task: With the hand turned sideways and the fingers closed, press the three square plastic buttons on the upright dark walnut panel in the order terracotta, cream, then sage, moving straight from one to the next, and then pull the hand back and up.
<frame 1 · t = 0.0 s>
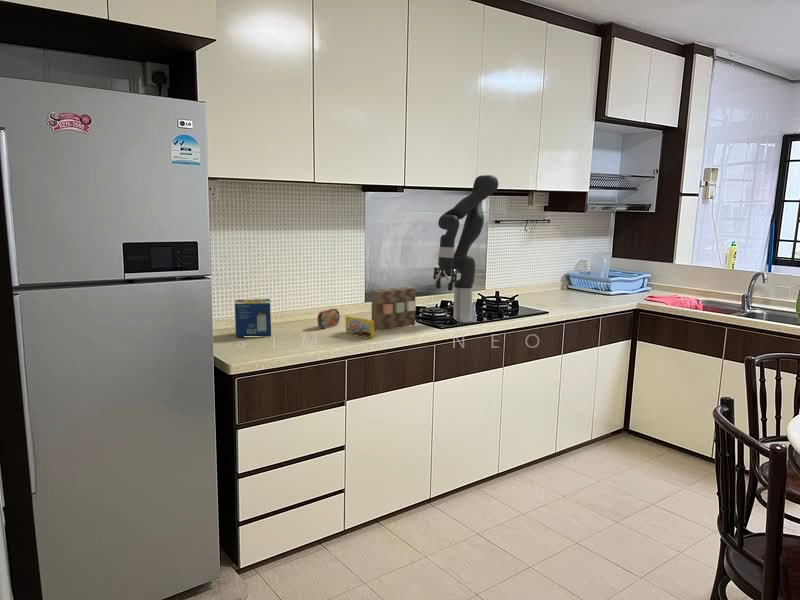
hand: (443, 289, 288), 17 cm above the countertop, tool pointing down, fingers open, 8 cm apart
protein box: (253, 335, 264), on the countertop
candy box: (359, 336, 264), on the countertop
terracotta button: (387, 308, 275), point 10 cm above the countertop, slide at 0.0 cm
cream button: (410, 305, 284), point 10 cm above the countertop, slide at 0.0 cm
sage button: (398, 307, 279), point 10 cm above the countertop, slide at 0.0 cm
tin: (328, 327, 283), on the countertop
button panel: (396, 327, 283), on the countertop
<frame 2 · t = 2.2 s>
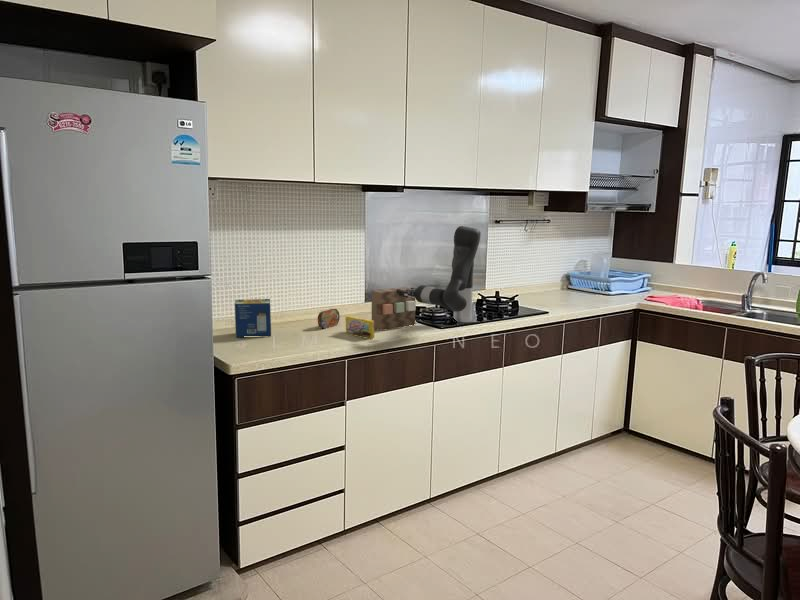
hand: (404, 290, 263), 20 cm above the countertop, tool horizontal, fingers open, 7 cm apart
nothing on the countertop moved.
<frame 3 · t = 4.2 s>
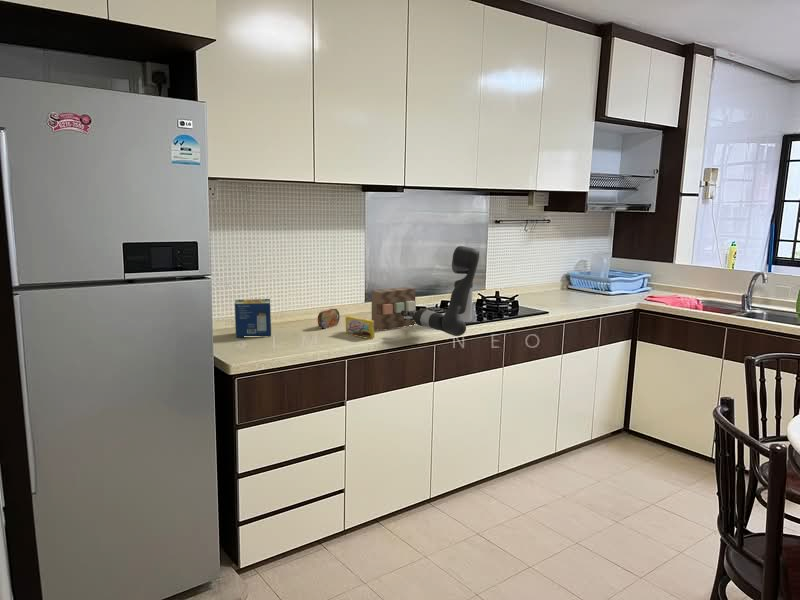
hand: (402, 312, 266), 10 cm above the countertop, tool horizontal, fingers closed
nothing on the countertop moved.
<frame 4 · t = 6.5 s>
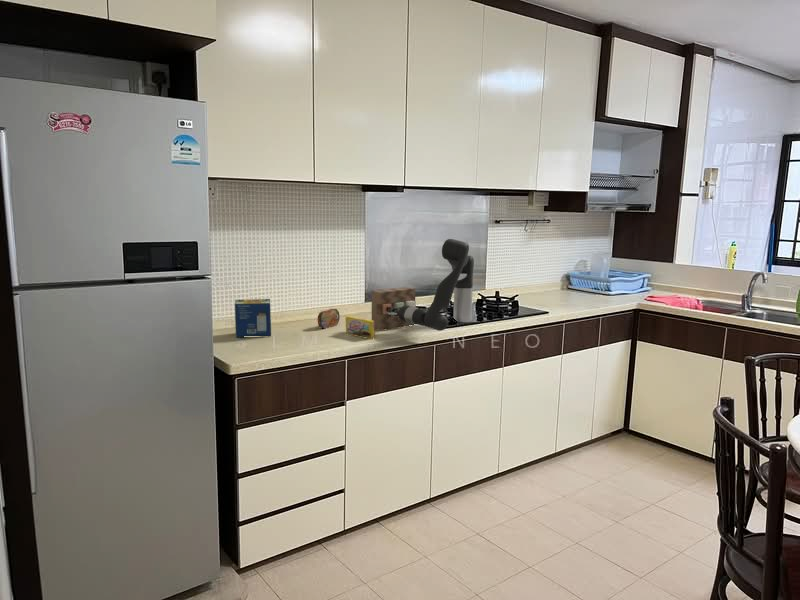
hand: (387, 309, 275), 10 cm above the countertop, tool horizontal, fingers closed
terracotta button: (385, 308, 276), point 10 cm above the countertop, slide at 1.0 cm, touching gripper
everything else where it was.
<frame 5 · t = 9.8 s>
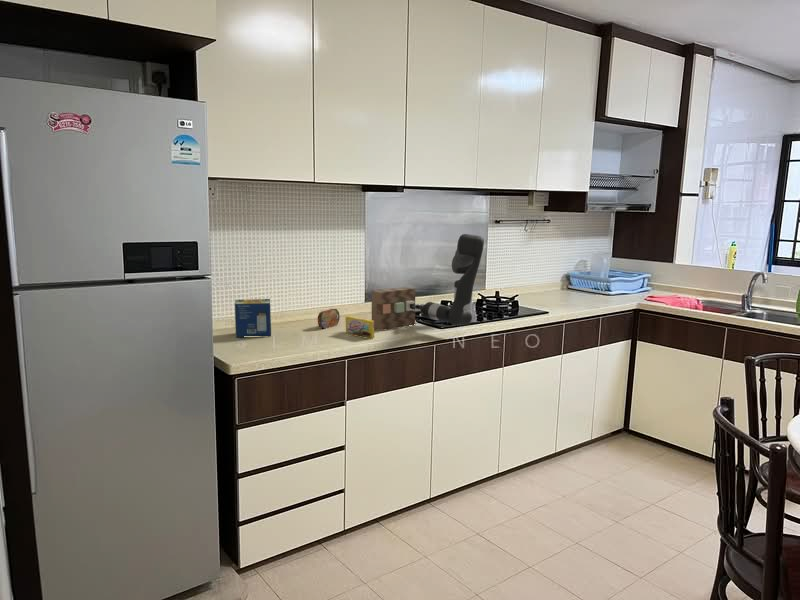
hand: (411, 305, 283), 10 cm above the countertop, tool horizontal, fingers closed
terracotta button: (384, 308, 276), point 10 cm above the countertop, slide at 1.6 cm
cream button: (409, 305, 284), point 10 cm above the countertop, slide at 0.9 cm, touching gripper
everything else where it was.
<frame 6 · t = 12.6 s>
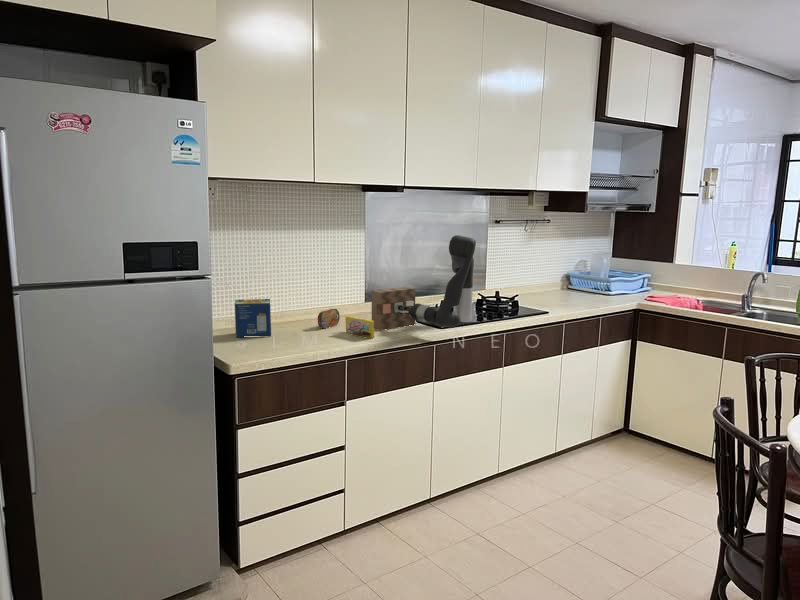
hand: (399, 307, 279), 10 cm above the countertop, tool horizontal, fingers closed
cream button: (408, 305, 285), point 10 cm above the countertop, slide at 1.6 cm
sage button: (397, 306, 280), point 10 cm above the countertop, slide at 1.3 cm, touching gripper
everything else where it was.
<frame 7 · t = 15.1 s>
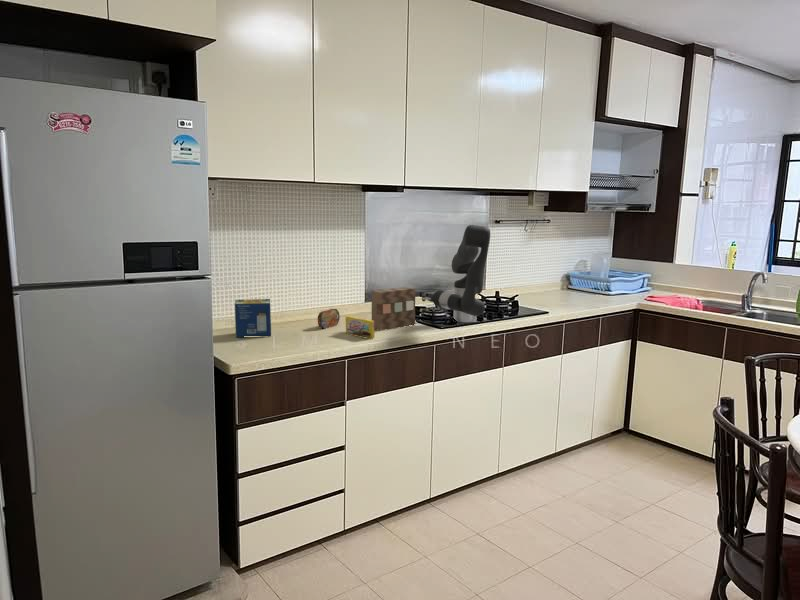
hand: (420, 294, 270), 18 cm above the countertop, tool horizontal, fingers closed
sage button: (396, 306, 281), point 10 cm above the countertop, slide at 1.6 cm
everything else where it was.
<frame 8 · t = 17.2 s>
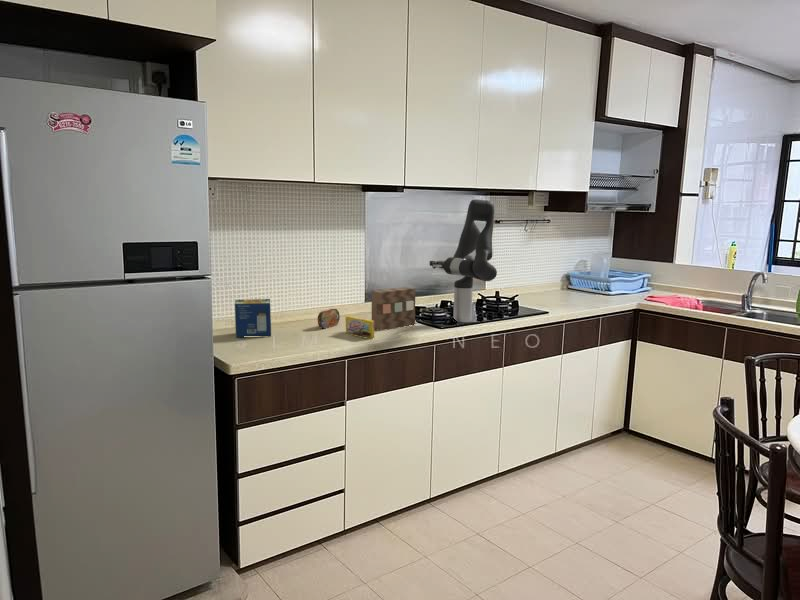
hand: (430, 263, 268), 32 cm above the countertop, tool horizontal, fingers closed
nothing on the countertop moved.
at the end: terracotta button slide at 1.6 cm; cream button slide at 1.6 cm; sage button slide at 1.6 cm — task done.
